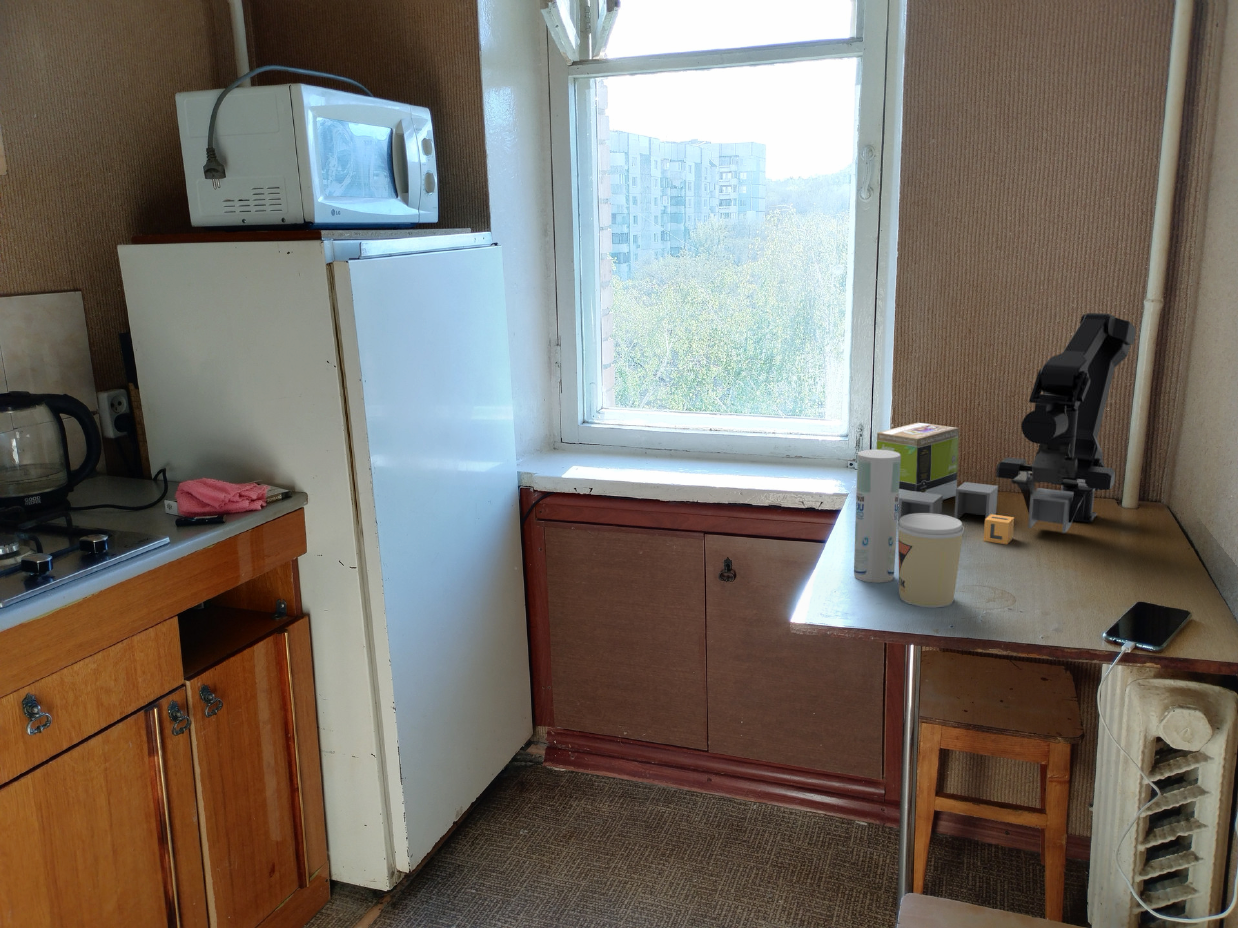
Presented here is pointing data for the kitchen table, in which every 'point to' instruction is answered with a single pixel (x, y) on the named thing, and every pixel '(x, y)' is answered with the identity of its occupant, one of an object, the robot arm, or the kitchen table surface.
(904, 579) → the coffee cup
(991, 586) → the kitchen table surface
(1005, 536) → the orange cube
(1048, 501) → the grey bracket
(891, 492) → the spray can
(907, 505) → the grey u-shaped block
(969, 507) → the open box
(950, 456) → the tea box
